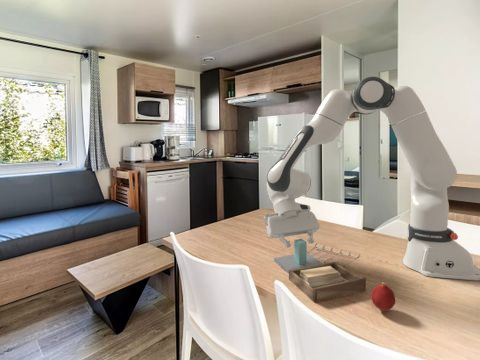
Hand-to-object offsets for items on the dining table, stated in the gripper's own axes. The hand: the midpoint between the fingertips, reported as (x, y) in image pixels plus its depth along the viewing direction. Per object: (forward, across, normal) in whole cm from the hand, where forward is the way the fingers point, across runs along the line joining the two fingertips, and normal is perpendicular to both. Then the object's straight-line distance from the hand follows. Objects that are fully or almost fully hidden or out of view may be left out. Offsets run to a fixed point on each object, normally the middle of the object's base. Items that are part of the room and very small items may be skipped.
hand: (300, 244), depth 108 cm
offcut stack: (+14, 0, -3) cm, 14 cm away
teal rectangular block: (+4, 0, +5) cm, 6 cm away
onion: (+29, +6, -18) cm, 34 cm away
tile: (+5, 0, +6) cm, 8 cm away
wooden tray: (+16, 0, -6) cm, 17 cm away
